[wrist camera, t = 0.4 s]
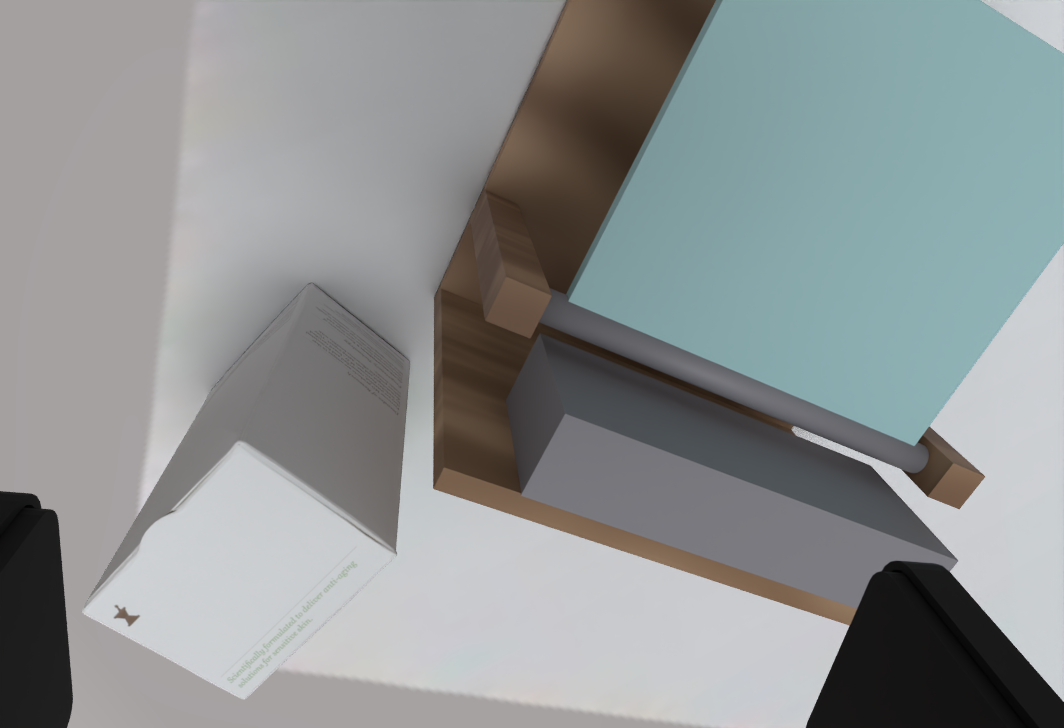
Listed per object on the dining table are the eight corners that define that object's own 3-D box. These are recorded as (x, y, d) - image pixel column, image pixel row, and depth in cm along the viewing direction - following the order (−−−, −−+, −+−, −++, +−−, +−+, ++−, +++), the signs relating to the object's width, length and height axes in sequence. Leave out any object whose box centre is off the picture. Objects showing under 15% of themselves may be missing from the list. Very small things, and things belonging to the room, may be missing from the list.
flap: (748, -130, 23) (845, -168, 17) (1141, 117, 27) (1315, 148, 22) (487, 396, 29) (499, 488, 24) (842, 527, 34) (921, 630, 28)
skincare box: (307, 466, 41) (241, 714, 27) (198, 389, 39) (62, 619, 25) (417, 357, 39) (408, 563, 25) (309, 268, 37) (231, 443, 23)
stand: (610, -95, 32) (754, -162, 17) (984, 122, 37) (1331, 209, 23) (434, 297, 38) (433, 488, 23) (777, 434, 43) (946, 657, 29)
